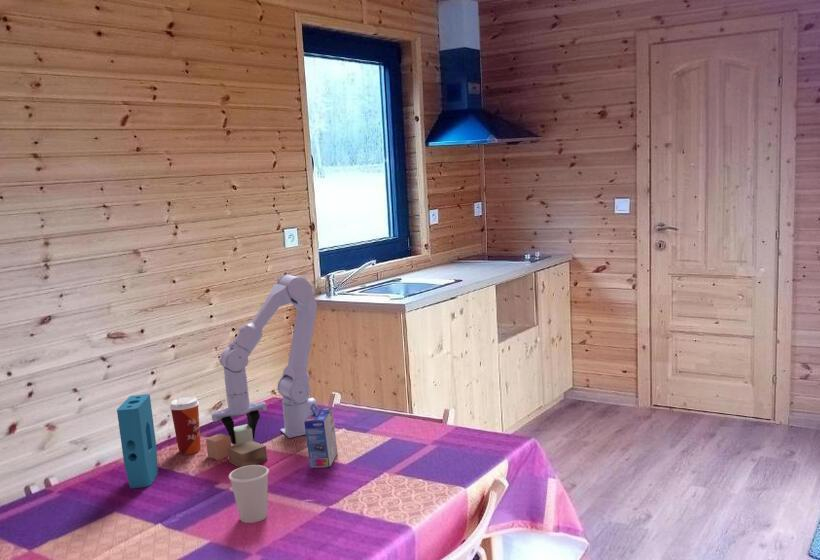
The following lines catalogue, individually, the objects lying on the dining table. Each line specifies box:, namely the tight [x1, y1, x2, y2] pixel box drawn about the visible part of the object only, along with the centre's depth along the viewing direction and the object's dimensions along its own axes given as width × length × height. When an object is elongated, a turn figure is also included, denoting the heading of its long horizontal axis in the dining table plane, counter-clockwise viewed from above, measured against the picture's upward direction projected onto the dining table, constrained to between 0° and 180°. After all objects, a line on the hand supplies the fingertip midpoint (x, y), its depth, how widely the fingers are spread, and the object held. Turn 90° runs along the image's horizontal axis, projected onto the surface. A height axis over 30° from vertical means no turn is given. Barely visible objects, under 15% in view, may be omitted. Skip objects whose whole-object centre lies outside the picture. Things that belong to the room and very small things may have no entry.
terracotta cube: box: [205, 433, 232, 461], centre depth 202 cm, size 4×4×5 cm
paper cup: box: [168, 396, 201, 455], centre depth 207 cm, size 8×8×14 cm
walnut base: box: [227, 440, 268, 468], centre depth 196 cm, size 7×7×4 cm
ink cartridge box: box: [304, 403, 338, 469], centre depth 192 cm, size 10×6×14 cm, turn 174°
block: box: [116, 393, 159, 489], centre depth 188 cm, size 12×5×20 cm, turn 4°
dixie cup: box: [228, 464, 270, 524], centre depth 163 cm, size 8×8×10 cm
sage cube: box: [232, 423, 254, 447], centre depth 208 cm, size 4×4×5 cm
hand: (242, 440), depth 208 cm, fingers closed on sage cube, 4 cm apart
